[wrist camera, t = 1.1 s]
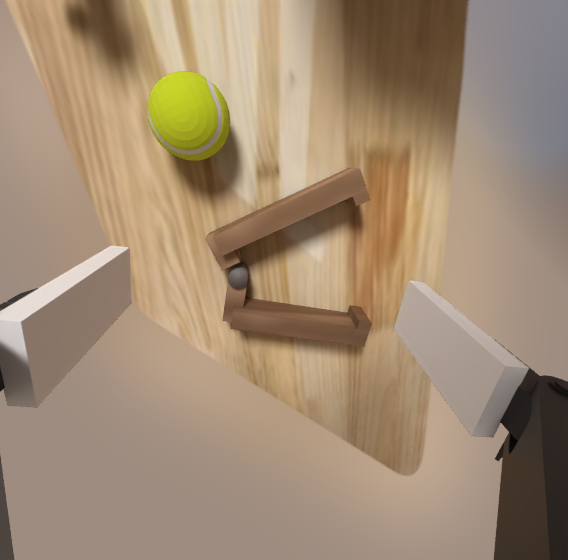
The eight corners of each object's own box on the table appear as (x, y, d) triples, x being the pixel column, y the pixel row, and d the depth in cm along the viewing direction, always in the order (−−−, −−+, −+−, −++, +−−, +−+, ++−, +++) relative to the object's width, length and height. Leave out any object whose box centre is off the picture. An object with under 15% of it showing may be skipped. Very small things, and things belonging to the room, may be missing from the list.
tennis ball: (244, 144, 31) (240, 140, 24) (183, 171, 31) (163, 173, 25) (214, 69, 28) (200, 43, 22) (147, 99, 29) (116, 82, 22)
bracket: (209, 233, 33) (202, 241, 30) (349, 168, 32) (359, 169, 28) (225, 262, 34) (220, 274, 31) (360, 201, 33) (372, 205, 29)
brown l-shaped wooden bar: (232, 260, 35) (228, 272, 31) (368, 282, 37) (380, 296, 33) (225, 310, 37) (220, 327, 33) (354, 328, 39) (364, 346, 35)
